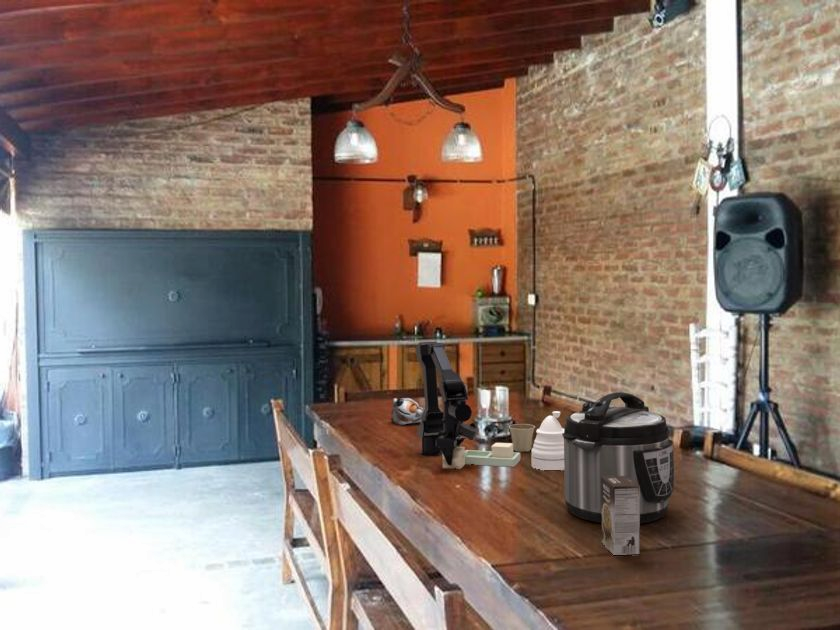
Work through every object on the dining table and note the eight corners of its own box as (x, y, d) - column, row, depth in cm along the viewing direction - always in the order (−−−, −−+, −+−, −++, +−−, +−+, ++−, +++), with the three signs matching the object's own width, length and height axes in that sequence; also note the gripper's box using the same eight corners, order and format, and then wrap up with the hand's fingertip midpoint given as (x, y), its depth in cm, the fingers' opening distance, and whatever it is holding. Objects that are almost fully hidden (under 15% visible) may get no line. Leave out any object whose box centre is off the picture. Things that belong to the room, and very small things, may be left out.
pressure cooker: (586, 534, 203) (585, 405, 201) (543, 503, 230) (542, 389, 228) (697, 523, 209) (697, 398, 208) (643, 494, 237) (642, 383, 235)
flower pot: (534, 453, 291) (534, 429, 291) (507, 453, 293) (507, 428, 293) (536, 447, 301) (536, 424, 300) (510, 447, 302) (509, 423, 302)
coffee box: (600, 543, 196) (599, 475, 195) (627, 542, 196) (626, 474, 195) (612, 557, 187) (612, 485, 186) (640, 555, 187) (640, 484, 186)
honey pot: (575, 463, 276) (574, 409, 275) (565, 472, 264) (564, 416, 263) (538, 460, 281) (537, 407, 280) (526, 469, 269) (525, 413, 268)
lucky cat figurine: (428, 420, 358) (431, 395, 351) (415, 436, 349) (417, 410, 342) (398, 409, 364) (399, 383, 356) (384, 424, 354) (386, 398, 347)
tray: (458, 463, 279) (457, 446, 278) (466, 457, 288) (466, 440, 288) (514, 466, 272) (513, 448, 272) (520, 460, 282) (520, 442, 282)
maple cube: (442, 468, 274) (442, 450, 273) (447, 463, 279) (447, 446, 279) (460, 469, 272) (459, 450, 271) (465, 464, 277) (464, 447, 277)
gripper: (468, 423, 263) (468, 471, 264) (482, 411, 281) (483, 457, 282) (434, 421, 266) (435, 469, 268) (451, 410, 284) (451, 455, 285)
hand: (452, 462), depth 276 cm, fingers open, 6 cm apart
